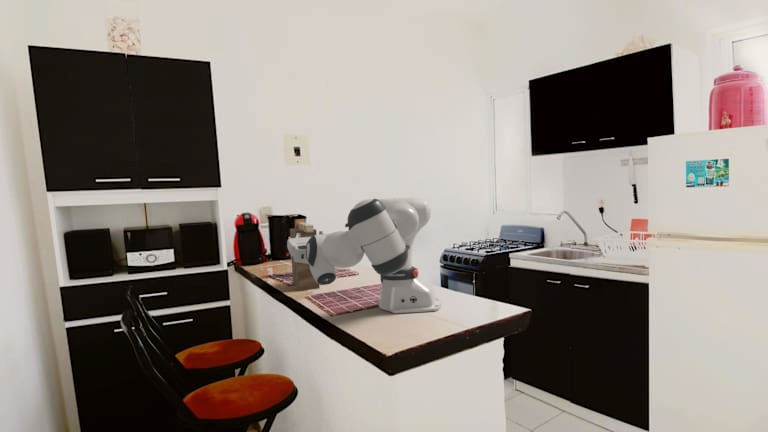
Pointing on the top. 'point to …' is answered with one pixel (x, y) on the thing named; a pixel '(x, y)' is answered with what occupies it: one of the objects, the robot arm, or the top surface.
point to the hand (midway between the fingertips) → (309, 233)
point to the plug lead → (303, 226)
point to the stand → (302, 267)
